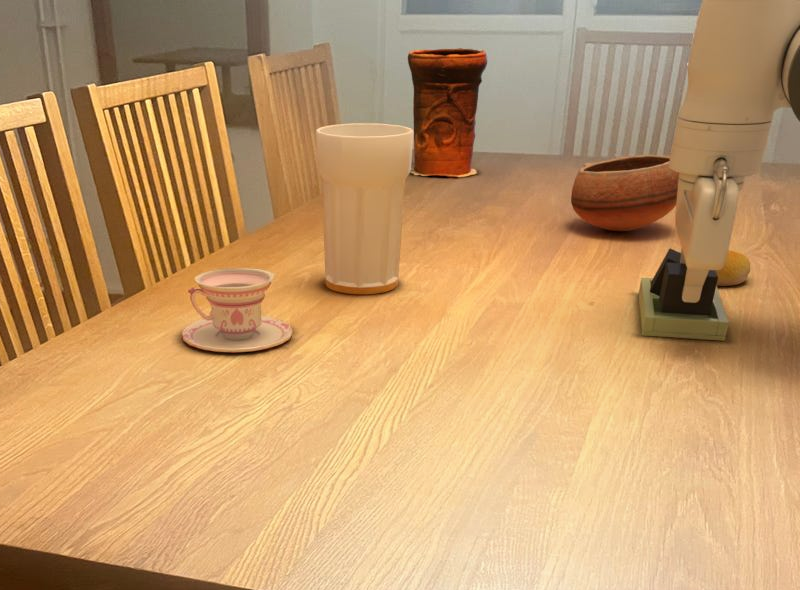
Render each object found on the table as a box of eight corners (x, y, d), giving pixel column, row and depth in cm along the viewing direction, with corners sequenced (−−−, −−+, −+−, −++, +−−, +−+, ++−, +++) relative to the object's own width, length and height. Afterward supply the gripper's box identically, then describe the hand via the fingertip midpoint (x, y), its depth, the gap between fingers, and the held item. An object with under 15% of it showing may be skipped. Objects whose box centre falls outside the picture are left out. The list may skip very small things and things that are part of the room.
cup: (420, 279, 123) (429, 126, 113) (382, 302, 115) (387, 139, 105) (342, 268, 127) (344, 120, 117) (300, 289, 119) (297, 132, 109)
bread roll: (721, 291, 117) (728, 257, 115) (662, 275, 123) (668, 242, 121) (762, 280, 121) (771, 247, 119) (703, 265, 127) (710, 233, 125)
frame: (711, 298, 115) (715, 281, 114) (724, 341, 102) (729, 322, 101) (638, 294, 117) (641, 277, 115) (642, 335, 104) (645, 316, 103)
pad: (690, 297, 114) (709, 265, 111) (689, 309, 110) (708, 276, 107) (651, 280, 114) (669, 247, 111) (649, 291, 110) (667, 258, 108)
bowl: (570, 215, 153) (580, 145, 147) (673, 221, 149) (687, 149, 143) (563, 238, 140) (573, 162, 135) (675, 244, 137) (690, 167, 131)
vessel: (400, 178, 179) (405, 53, 168) (405, 165, 191) (410, 47, 179) (478, 179, 178) (488, 53, 166) (478, 166, 189) (488, 47, 178)
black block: (705, 302, 107) (714, 265, 104) (709, 315, 103) (718, 277, 100) (658, 299, 108) (666, 262, 105) (660, 312, 104) (668, 274, 101)
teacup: (274, 315, 111) (272, 259, 107) (307, 347, 101) (306, 287, 98) (172, 326, 108) (166, 269, 104) (195, 360, 98) (190, 298, 95)
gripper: (764, 170, 87) (727, 323, 95) (739, 137, 104) (710, 270, 112) (691, 168, 89) (661, 318, 97) (678, 135, 105) (653, 267, 113)
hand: (687, 292), depth 104 cm, fingers closed on black block, 5 cm apart
